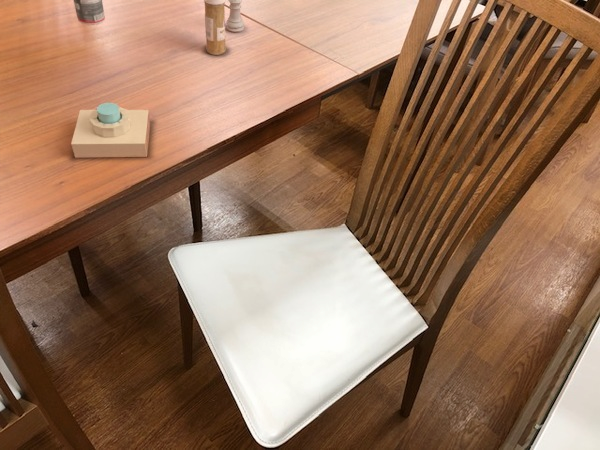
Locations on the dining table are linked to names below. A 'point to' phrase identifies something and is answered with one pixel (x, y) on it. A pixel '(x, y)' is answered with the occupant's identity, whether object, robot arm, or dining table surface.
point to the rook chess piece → (235, 17)
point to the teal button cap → (108, 113)
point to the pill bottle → (89, 11)
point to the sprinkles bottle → (215, 26)
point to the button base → (111, 135)
